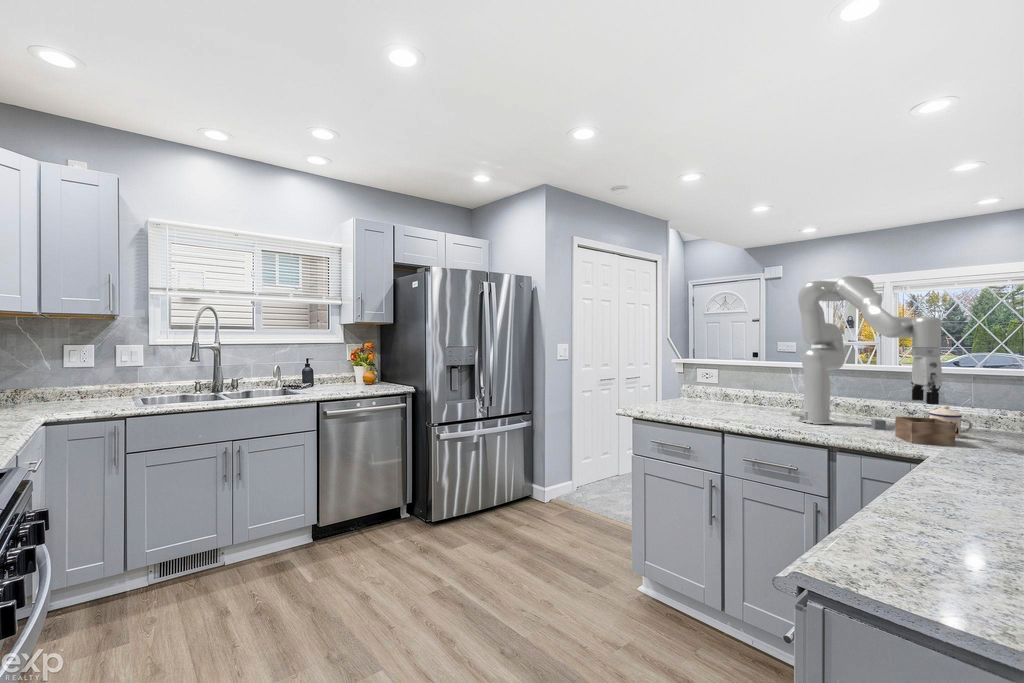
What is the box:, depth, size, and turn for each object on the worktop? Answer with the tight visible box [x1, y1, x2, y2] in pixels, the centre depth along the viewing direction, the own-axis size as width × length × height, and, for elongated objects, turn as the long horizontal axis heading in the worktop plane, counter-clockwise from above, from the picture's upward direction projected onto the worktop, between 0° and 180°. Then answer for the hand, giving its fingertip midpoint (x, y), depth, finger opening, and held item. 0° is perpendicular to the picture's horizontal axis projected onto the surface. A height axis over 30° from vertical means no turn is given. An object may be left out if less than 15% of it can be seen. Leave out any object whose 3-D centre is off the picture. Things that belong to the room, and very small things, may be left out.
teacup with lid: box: [928, 405, 974, 439], centre depth 176 cm, size 12×9×12 cm
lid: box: [864, 418, 895, 431], centre depth 188 cm, size 14×14×5 cm
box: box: [894, 415, 956, 447], centre depth 167 cm, size 12×12×8 cm
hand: (924, 402), depth 167 cm, fingers open, 9 cm apart
